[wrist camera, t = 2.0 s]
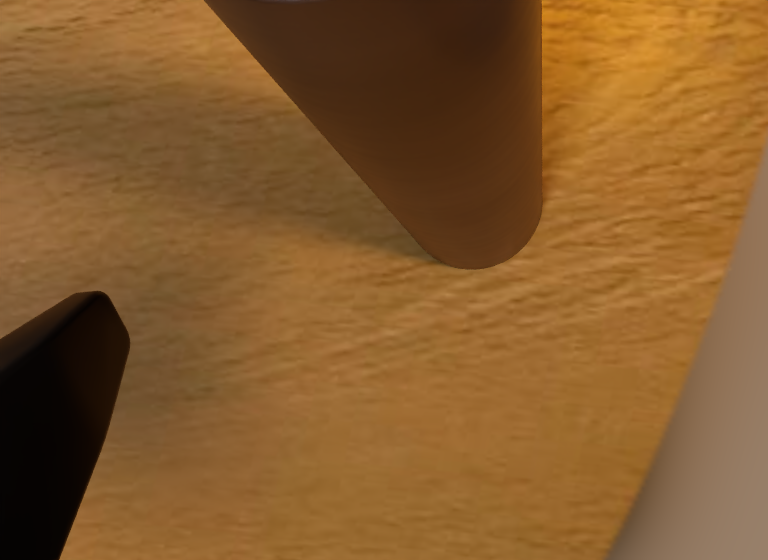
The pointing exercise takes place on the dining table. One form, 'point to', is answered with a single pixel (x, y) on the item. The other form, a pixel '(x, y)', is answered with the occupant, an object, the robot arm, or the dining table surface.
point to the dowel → (419, 107)
